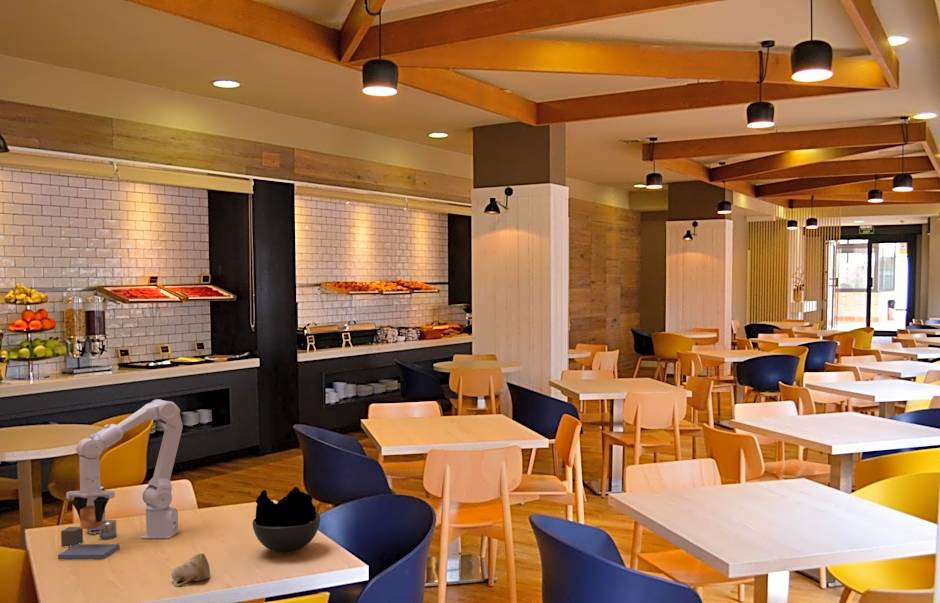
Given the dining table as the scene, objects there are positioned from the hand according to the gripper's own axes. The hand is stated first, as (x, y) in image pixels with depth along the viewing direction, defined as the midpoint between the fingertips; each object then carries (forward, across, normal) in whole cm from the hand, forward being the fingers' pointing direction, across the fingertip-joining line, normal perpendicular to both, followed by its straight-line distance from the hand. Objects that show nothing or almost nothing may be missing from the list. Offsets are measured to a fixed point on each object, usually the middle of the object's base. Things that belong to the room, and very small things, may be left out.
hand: (91, 521), depth 253 cm
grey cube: (+9, -2, +13) cm, 16 cm away
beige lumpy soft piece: (+9, +43, -27) cm, 51 cm away
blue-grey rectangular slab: (+9, +1, -4) cm, 10 cm away
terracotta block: (+2, 0, 0) cm, 2 cm away
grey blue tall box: (+9, -9, +19) cm, 23 cm away
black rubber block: (+9, -10, +6) cm, 15 cm away
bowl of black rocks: (+9, +62, -2) cm, 63 cm away
